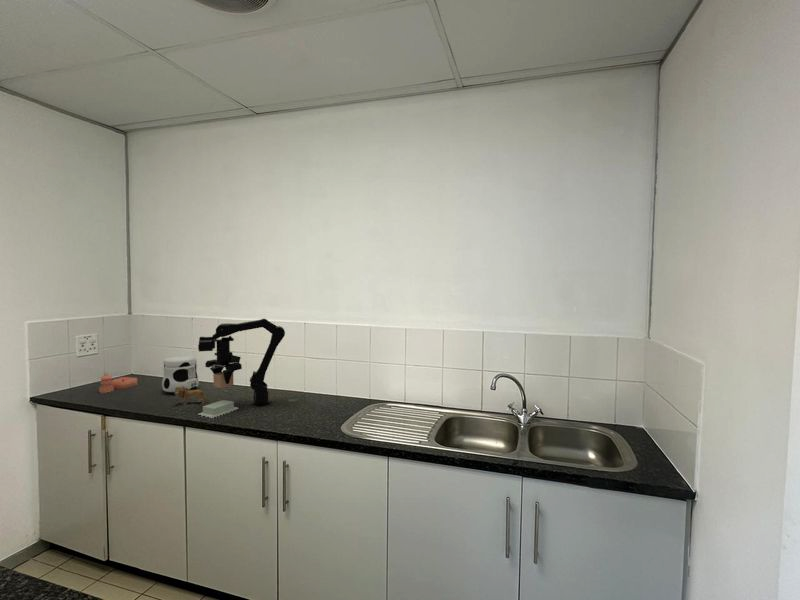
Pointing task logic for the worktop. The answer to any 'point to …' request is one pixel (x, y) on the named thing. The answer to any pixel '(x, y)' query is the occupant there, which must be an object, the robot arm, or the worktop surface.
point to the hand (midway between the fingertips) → (223, 383)
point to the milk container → (180, 373)
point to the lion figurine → (189, 394)
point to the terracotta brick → (221, 380)
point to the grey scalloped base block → (218, 408)
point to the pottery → (115, 383)
